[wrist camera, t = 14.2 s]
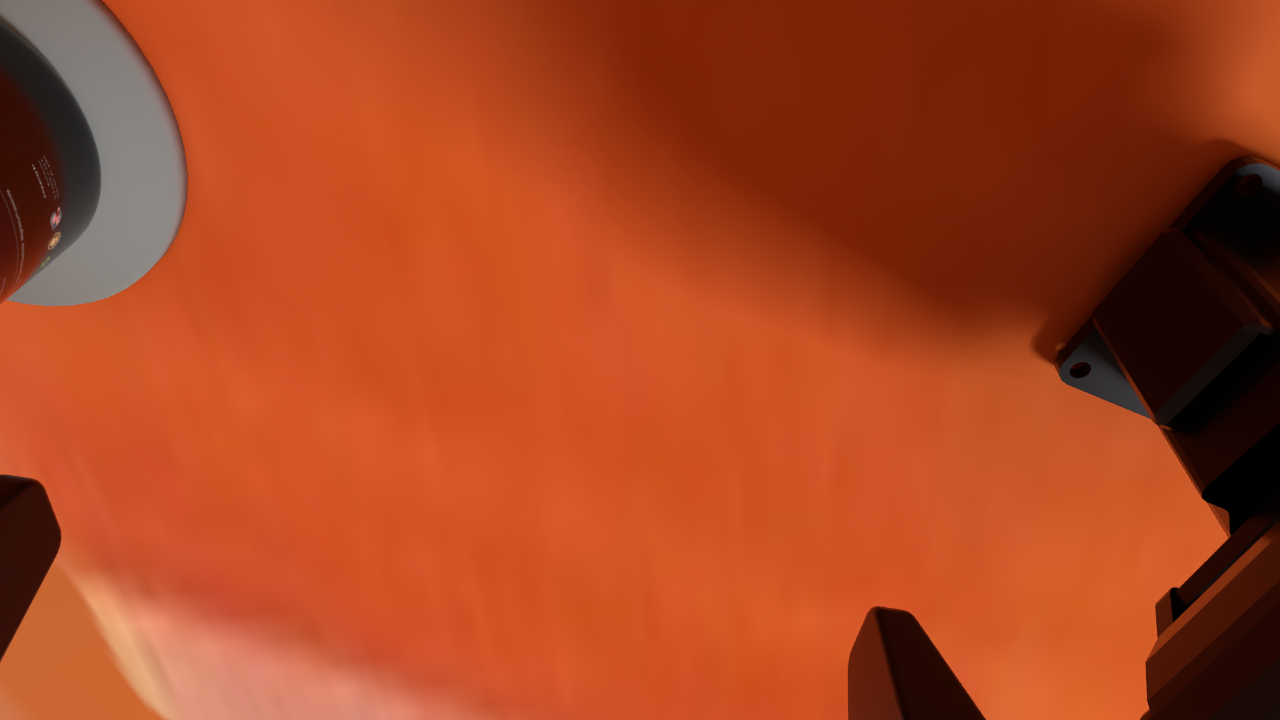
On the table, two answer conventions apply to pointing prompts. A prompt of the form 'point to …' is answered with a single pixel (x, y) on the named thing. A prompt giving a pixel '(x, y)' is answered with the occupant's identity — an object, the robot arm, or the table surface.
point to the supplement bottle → (40, 165)
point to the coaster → (108, 149)
